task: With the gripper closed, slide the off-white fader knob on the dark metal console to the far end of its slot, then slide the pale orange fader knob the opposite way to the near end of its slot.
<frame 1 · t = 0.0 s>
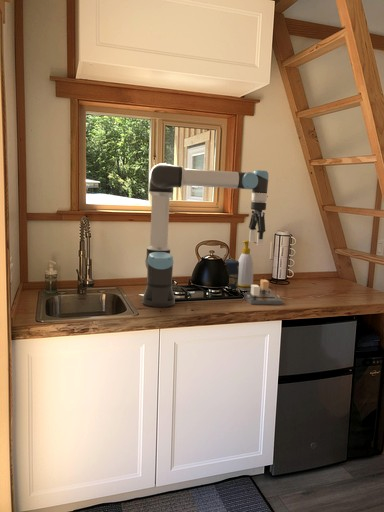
hand: (255, 244, 221), 28 cm above the worktop, fingers open, 13 cm apart
console: (258, 297, 225), on the worktop
canister: (228, 291, 236), on the worktop
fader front: (255, 291, 217), point 5 cm above the worktop, slide at -4.5 cm
soap bottle: (243, 285, 253), on the worktop
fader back: (264, 285, 231), point 5 cm above the worktop, slide at 4.5 cm
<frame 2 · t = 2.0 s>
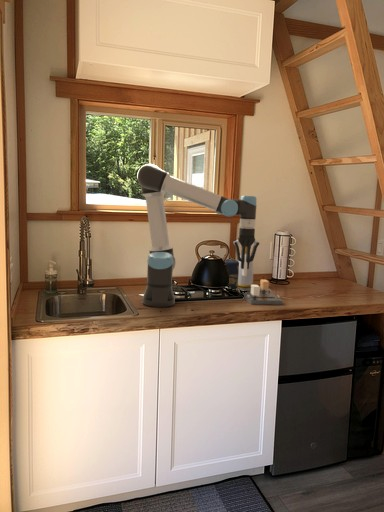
hand: (244, 275, 215), 13 cm above the worktop, fingers closed
nothing on the worktop moved.
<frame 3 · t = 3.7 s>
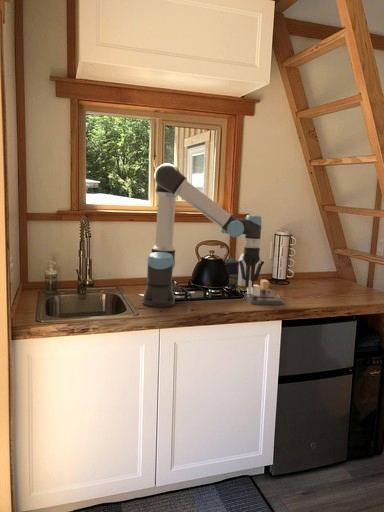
hand: (248, 293, 216), 4 cm above the worktop, fingers closed
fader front: (255, 291, 217), point 5 cm above the worktop, slide at -4.2 cm, touching gripper
everything else where it was.
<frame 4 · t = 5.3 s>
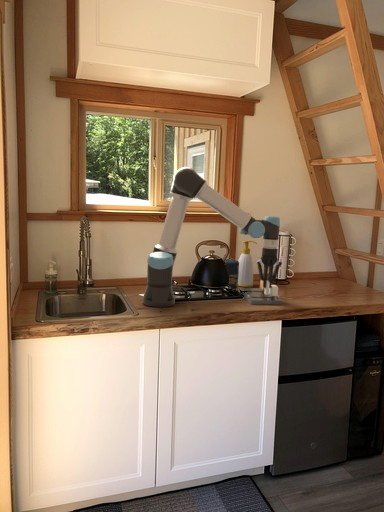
hand: (266, 294, 218), 4 cm above the worktop, fingers closed
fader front: (273, 291, 218), point 5 cm above the worktop, slide at 5.1 cm, touching gripper
everything else where it was.
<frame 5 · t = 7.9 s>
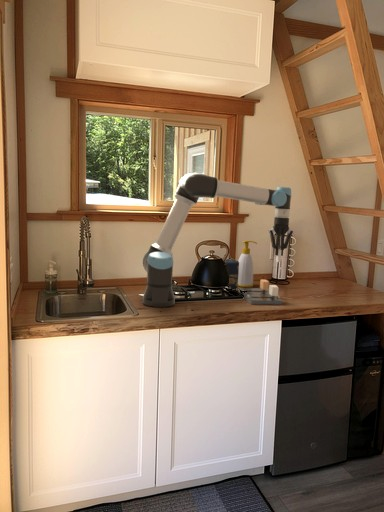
hand: (278, 261, 230), 18 cm above the worktop, fingers closed
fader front: (273, 291, 218), point 5 cm above the worktop, slide at 5.1 cm
everything else where it was.
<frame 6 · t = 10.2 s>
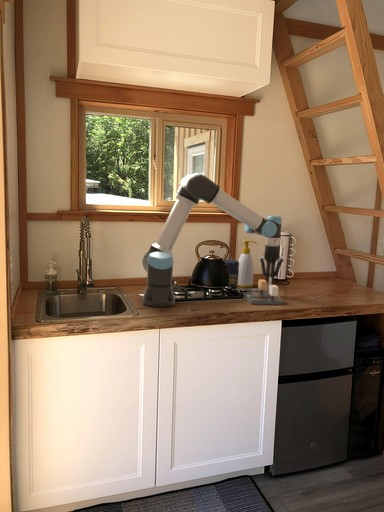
hand: (268, 289, 231), 3 cm above the worktop, fingers closed
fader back: (262, 285, 231), point 5 cm above the worktop, slide at 3.4 cm, touching gripper
everything else where it was.
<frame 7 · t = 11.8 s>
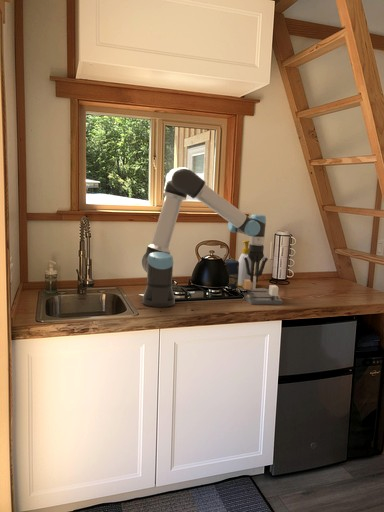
hand: (253, 288, 230), 4 cm above the worktop, fingers closed
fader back: (246, 285, 229), point 5 cm above the worktop, slide at -5.1 cm, touching gripper
everything else where it was.
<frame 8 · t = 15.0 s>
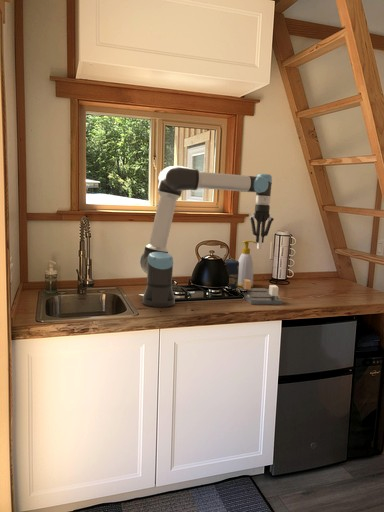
hand: (259, 248, 230), 24 cm above the worktop, fingers closed
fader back: (246, 285, 229), point 5 cm above the worktop, slide at -5.1 cm
everything else where it was.
at the end: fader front slide at 5.1 cm; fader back slide at -5.1 cm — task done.
